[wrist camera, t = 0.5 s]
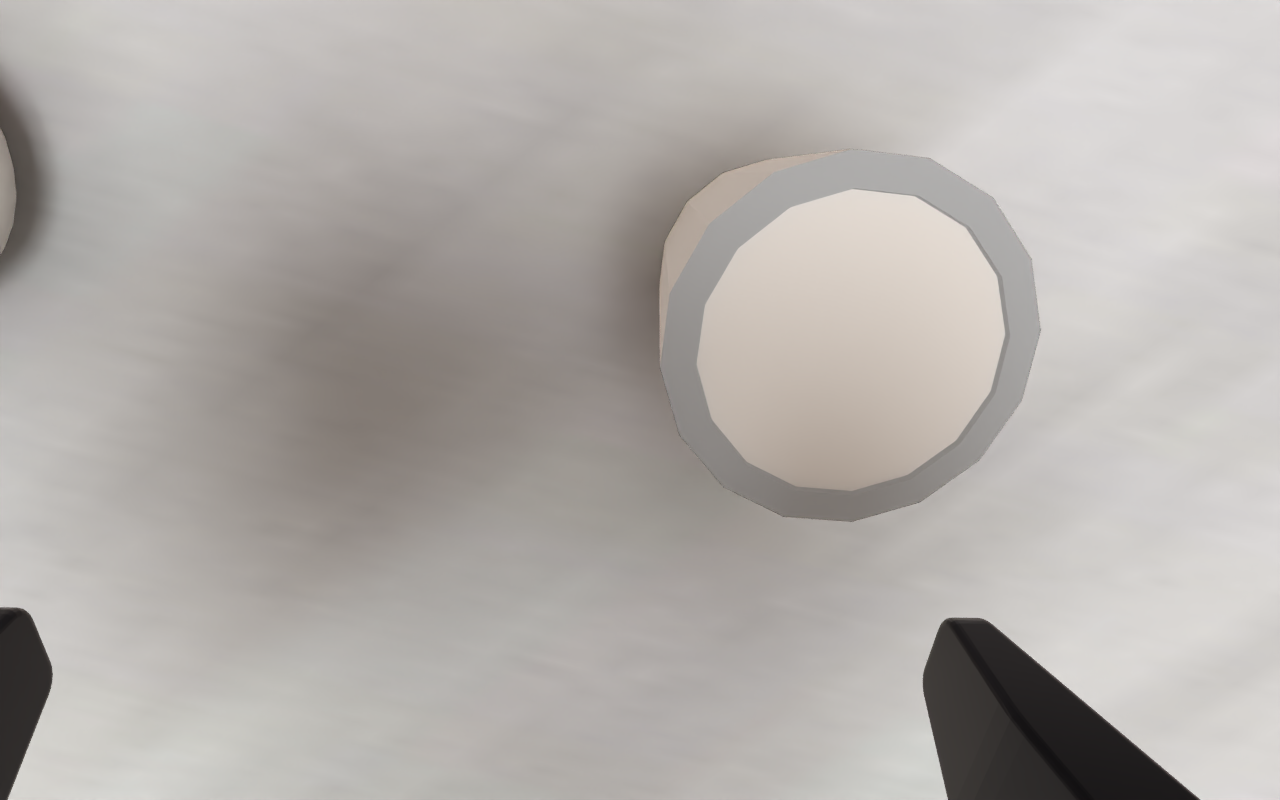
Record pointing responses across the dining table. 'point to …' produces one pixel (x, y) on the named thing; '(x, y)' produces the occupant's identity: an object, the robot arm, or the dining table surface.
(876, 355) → the white tapered cup
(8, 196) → the plastic bottle
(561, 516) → the dining table surface
